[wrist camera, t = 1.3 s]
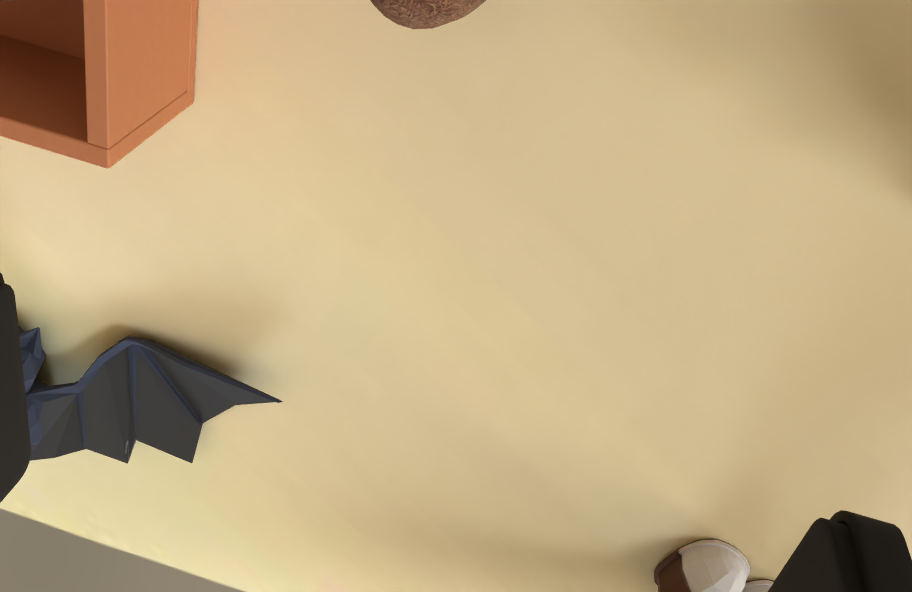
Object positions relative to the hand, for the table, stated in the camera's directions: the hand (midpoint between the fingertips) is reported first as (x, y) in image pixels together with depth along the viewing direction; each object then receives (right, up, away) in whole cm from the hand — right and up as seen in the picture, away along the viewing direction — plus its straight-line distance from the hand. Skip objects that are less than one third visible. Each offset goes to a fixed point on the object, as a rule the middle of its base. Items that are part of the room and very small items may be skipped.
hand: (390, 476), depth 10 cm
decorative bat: (-22, -2, +36) cm, 42 cm away
